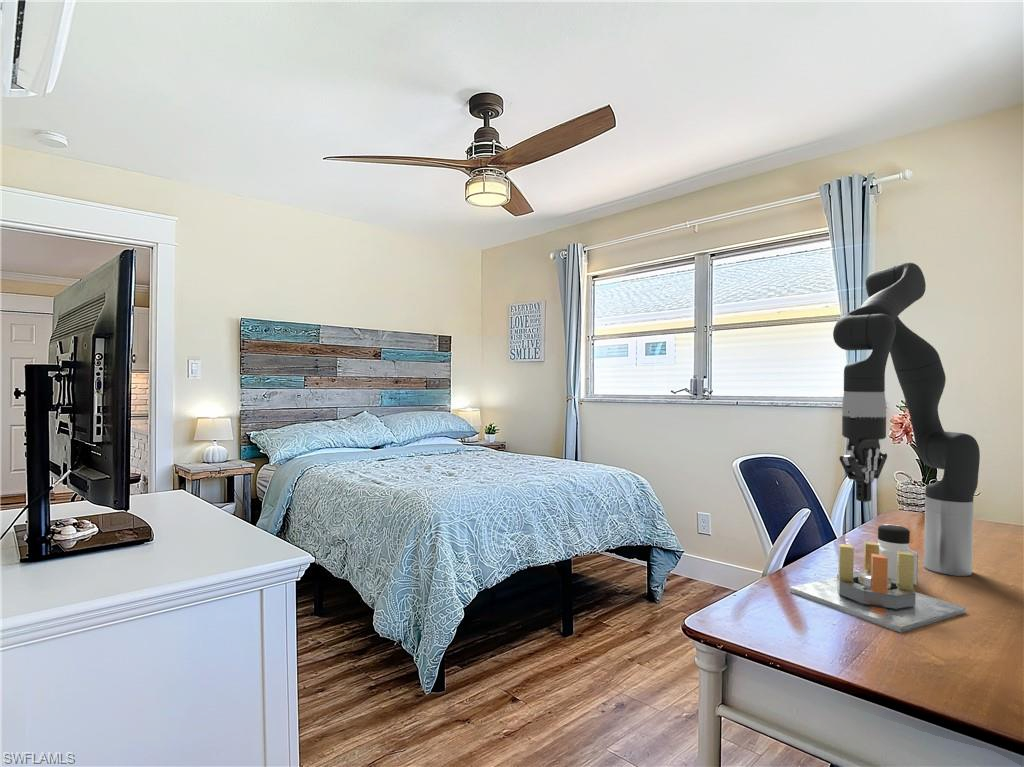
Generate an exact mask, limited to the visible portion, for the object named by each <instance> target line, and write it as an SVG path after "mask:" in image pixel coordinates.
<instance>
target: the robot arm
mask: <svg viewBox="0 0 1024 767" xmlns="http://www.w3.org/2000/svg"><path fill="white" fill-rule="evenodd" d="M926 289H927V288H926V279H925V276H924V273H923V271H922V269H921V267H920V266H919V265H918V264H916V263H914V262H905V263H900V264H897V265H893V266H890V267H887V268H884V269H880V270H877V271H873V272H870V273H869V274H867V275H866V277H865V290H866V293H867V297H868V298H866V300H865V301H864V302H863V303H862V304H861V305H860V307H858V308H856V309H853V310H851V311H850V312H848V313H845V314H843V315H842V316H840V318H839V319H838V320H837V321H836V323H835V325H834V327H833V331H832V334H833V335H832V337H833V341H834V344H836V346H837V347H839V348H840V349H841V350H844V351H870V350H871V351H872V352H871V353H870V355H869V356H868V357H867V358H866V359H863V360H859V361H853V362H850V363H847V364H846V365H845V366H844V369H843V396H842V405H841V407H842V409H841V410H842V414H841V418H842V419H841V422H842V423H841V426H842V430H841V431H842V432H841V435H842V436H843V438H846V439H848V442H847V446H846V448H847V449H846V451H847V452H846V454H845V455H842V454H841V455H840V456H839V462H840V463H841V466H842V468H843V470H844V472H845V474H846V476H847V477H848V479H849V480H852V481H853V482H855V483H856V484H855V499H856V500H857V501H859V502H863V503H867V502H871V501H872V483H874V481H875V479H877V480H878V479H879V477H880V475H881V472H882V470H883V468H884V466H885V463H886V461H887V459H888V454H887V453H886V452H882V451H881V450H880V448H881V444H880V440H885V439H886V438H887V402H886V401H887V400H886V395H885V391H886V389H885V388H886V387H885V386H886V385H885V384H886V380H885V379H886V378H885V377H886V367H887V362H888V358H889V354H890V357H891V361H892V364H893V367H894V371H895V375H896V377H897V380H898V383H899V386H900V389H901V390H902V393H903V397H904V400H905V404H906V408H907V411H908V414H909V418H910V422H911V426H912V427H911V428H912V433H913V438H914V442H915V447H916V451H917V454H918V456H919V459H920V460H921V462H922V463H923V464H925V465H926V466H927V467H930V468H933V469H938V470H943V475H942V479H940V480H939V481H937V482H933V483H928V484H926V486H925V490H924V491H925V492H924V493H925V494H924V495H925V497H924V498H925V499H924V539H923V541H924V545H923V546H924V547H923V548H924V551H923V552H924V553H923V567H924V568H925V569H927V570H929V571H932V572H935V573H939V574H944V575H949V576H959V577H969V576H972V574H973V548H974V547H973V536H974V499H975V498H974V497H975V493H976V490H977V489H978V483H979V471H980V461H981V460H980V459H981V455H980V454H981V451H980V446H979V443H978V441H977V440H976V438H974V436H973V435H971V434H968V433H963V432H953V431H945V430H944V428H943V426H942V422H941V420H940V417H939V416H940V415H939V404H940V401H941V398H942V395H943V393H944V390H945V386H946V380H947V378H946V373H945V370H944V367H943V363H942V360H941V357H940V355H939V352H938V351H937V350H936V348H935V347H934V346H933V345H932V344H931V343H929V342H928V341H926V340H925V339H924V338H923V337H921V336H920V335H918V334H917V333H915V332H914V330H913V331H912V329H910V328H909V327H908V326H906V325H905V323H903V321H902V320H901V319H900V317H899V316H900V314H901V313H902V312H904V311H905V310H906V309H908V308H909V307H910V306H911V305H913V304H914V303H915V302H916V301H918V300H920V299H921V298H923V296H924V294H925V292H926Z"/></svg>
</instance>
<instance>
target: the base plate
mask: <svg viewBox="0 0 1024 767" xmlns="http://www.w3.org/2000/svg"><path fill="white" fill-rule="evenodd" d="M858 584H860V585H863V586H865V587H868V588H871V573H863V572H859V579H858ZM887 590H891V579H890V578H889V577H887ZM789 593H791V594H792V593H793V594H795V595H797V596H800V597H803V598H806V599H807V600H810V601H814V602H817V603H819V604H822V605H823V606H826V607H829V608H832V609H835V610H838V611H841V612H842V613H846V614H848V615H850V616H853V617H857V618H859V619H862V620H865V621H868V622H870V623H872V624H876V625H878V626H880V627H883V628H886V629H889V630H891V631H895V632H897V633H899V634H902V633H905V632H907V631H908V632H909V631H911V630H914V629H918V628H921V627H925V626H927V625H930V624H934V623H938V622H940V621H944V620H947V619H951V618H953V617H957V616H960V615H963V614H966V613H967V608H966V607H965V606H962V605H958V604H955V603H952V602H949V601H947V600H942V599H939V598H935V597H934V596H933V597H932V596H929V595H926V594H923V593H921V592H916V591H915V593H916V595H915V606H910V607H903V608H897V609H894V608H888V607H881V606H875V605H869V604H863V603H860V602H858V601H855V600H853V599H850V598H848V597H845V596H843V595H840V594H839V591H838V588H837V576H836V577H830V578H826V579H823V580H817V581H812V582H807V583H803V584H799V585H798V584H797V585H793V586H790V587H789Z"/></svg>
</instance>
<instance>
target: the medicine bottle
mask: <svg viewBox="0 0 1024 767" xmlns="http://www.w3.org/2000/svg"><path fill="white" fill-rule="evenodd" d="M910 536H911V535H910V530H909V529H908V528H907V527H905V526H902V525H897V524H881V525H879V526H878V527H877V543H878V545H879V555H886V557H887V558H888V573H887V577H889V578H892V579H895V580H897V551H904V552H912V554H913V555H914V581H913V586H914V585H916V586H917V584H918V565H919V562H918V560H919V559H918V558H919V557H918V556H919V555H918V552H917V551H914V550H913V549H911V548H909V547H910V541H911V540H910V539H911V538H910Z"/></svg>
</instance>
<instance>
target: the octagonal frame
mask: <svg viewBox="0 0 1024 767" xmlns="http://www.w3.org/2000/svg"><path fill="white" fill-rule="evenodd" d="M878 543H879V542H875V541H874V542H873V541H863V572H862V573H871V588H868V587H865V586H863V585H860V584H858V579H859V573H860V572H858V571H854V552H855V551H854V550H855V548H854V546H853V545H851V544H845V543H843V544H842V543H839V544H838V573H837V574H836V577H837V588H838V591H839V594H840V595H843V596H845V597H848V598H850V599H853V600H855V601H858V602H860V603H863V604H869V605H875V606H881V607H888V608H894V609H897V608H903V607H910V606H915V595H916V593H915V592H916V591H915V590H914V585H913V581H914V555H913V554H912V552H904V551H897V580H895V579H892V578H890V579H891V590H887V573H888V558H887V557H886V555H879V545H878Z"/></svg>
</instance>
